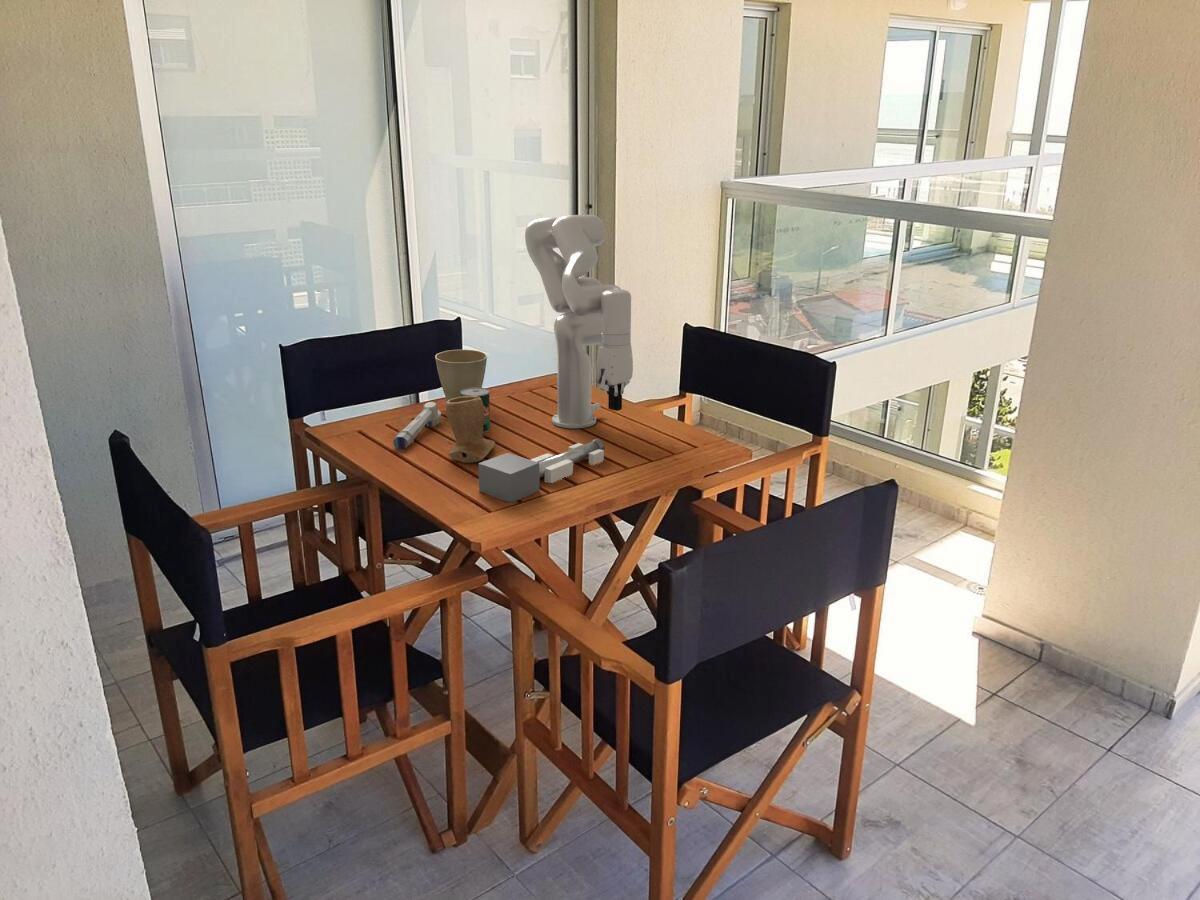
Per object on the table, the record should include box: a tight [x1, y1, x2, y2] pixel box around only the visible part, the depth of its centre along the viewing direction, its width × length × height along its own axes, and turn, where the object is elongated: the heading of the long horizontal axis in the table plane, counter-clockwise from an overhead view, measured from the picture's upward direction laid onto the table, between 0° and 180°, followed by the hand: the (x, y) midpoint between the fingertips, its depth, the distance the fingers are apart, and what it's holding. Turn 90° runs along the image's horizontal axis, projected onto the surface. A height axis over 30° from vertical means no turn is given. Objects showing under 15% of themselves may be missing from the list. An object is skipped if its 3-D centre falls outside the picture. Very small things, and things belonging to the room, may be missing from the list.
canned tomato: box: [460, 387, 491, 434], centre depth 257 cm, size 8×8×11 cm
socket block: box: [478, 452, 540, 504], centre depth 217 cm, size 10×10×7 cm
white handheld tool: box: [392, 401, 442, 450], centre depth 254 cm, size 5×7×25 cm
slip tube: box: [539, 438, 605, 479], centre depth 233 cm, size 24×4×4 cm, turn 141°
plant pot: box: [434, 349, 488, 402], centre depth 275 cm, size 15×15×16 cm
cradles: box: [530, 442, 605, 484], centre depth 232 cm, size 20×8×4 cm, turn 141°
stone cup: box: [445, 396, 496, 464], centre depth 238 cm, size 15×12×15 cm
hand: (615, 409), depth 242 cm, fingers closed
